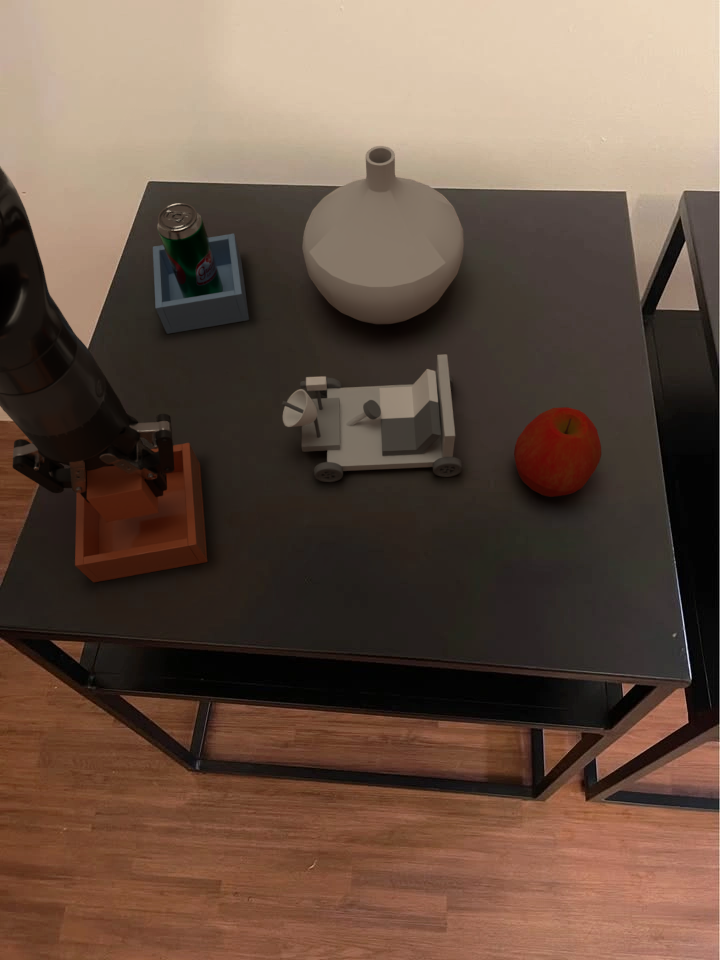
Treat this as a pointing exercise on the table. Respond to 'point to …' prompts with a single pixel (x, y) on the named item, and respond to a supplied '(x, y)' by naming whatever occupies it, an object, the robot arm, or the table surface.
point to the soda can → (189, 250)
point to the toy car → (377, 424)
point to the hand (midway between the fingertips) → (130, 493)
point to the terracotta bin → (147, 529)
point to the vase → (383, 244)
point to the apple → (558, 452)
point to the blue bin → (203, 308)
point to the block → (119, 494)
